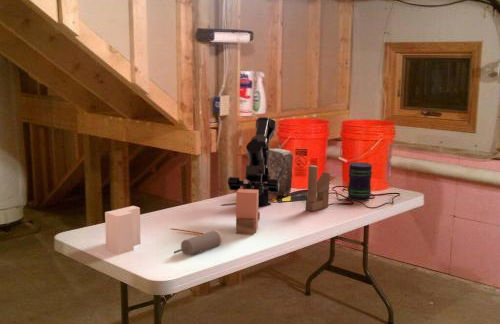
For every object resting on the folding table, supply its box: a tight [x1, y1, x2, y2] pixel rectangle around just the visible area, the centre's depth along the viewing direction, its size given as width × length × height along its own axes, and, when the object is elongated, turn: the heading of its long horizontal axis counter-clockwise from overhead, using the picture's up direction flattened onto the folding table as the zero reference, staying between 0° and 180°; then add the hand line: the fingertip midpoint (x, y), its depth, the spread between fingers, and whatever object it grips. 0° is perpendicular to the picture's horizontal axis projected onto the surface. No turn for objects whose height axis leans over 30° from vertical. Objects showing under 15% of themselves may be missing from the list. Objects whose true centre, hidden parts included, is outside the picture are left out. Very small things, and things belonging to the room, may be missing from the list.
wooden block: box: [305, 165, 331, 212], centre depth 217 cm, size 4×11×18 cm, turn 135°
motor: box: [169, 227, 223, 257], centre depth 174 cm, size 23×22×5 cm
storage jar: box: [347, 161, 373, 202], centre depth 236 cm, size 10×10×15 cm
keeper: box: [235, 188, 259, 232], centre depth 188 cm, size 5×7×14 cm
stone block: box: [267, 148, 294, 196], centre depth 241 cm, size 13×7×20 cm, turn 40°
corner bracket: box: [104, 205, 141, 255], centre depth 170 cm, size 11×11×12 cm
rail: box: [235, 211, 261, 236], centre depth 193 cm, size 20×6×5 cm, turn 171°
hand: (251, 204), depth 196 cm, fingers closed
